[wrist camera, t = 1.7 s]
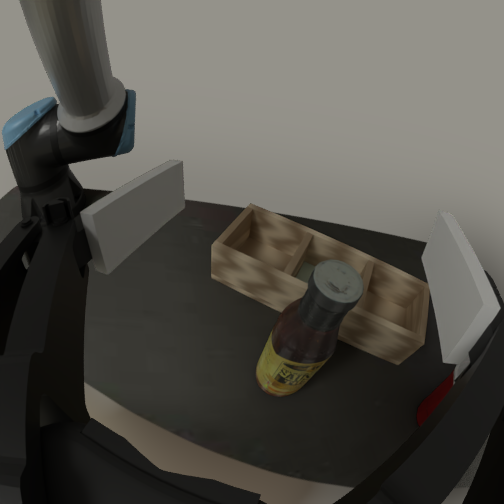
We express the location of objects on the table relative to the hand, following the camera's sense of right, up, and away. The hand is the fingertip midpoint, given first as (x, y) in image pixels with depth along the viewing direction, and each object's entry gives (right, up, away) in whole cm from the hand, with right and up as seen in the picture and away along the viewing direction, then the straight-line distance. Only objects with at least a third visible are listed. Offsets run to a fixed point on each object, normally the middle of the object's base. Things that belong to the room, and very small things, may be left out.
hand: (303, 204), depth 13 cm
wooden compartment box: (+8, -9, +30) cm, 32 cm away
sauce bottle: (+1, -18, +21) cm, 27 cm away
